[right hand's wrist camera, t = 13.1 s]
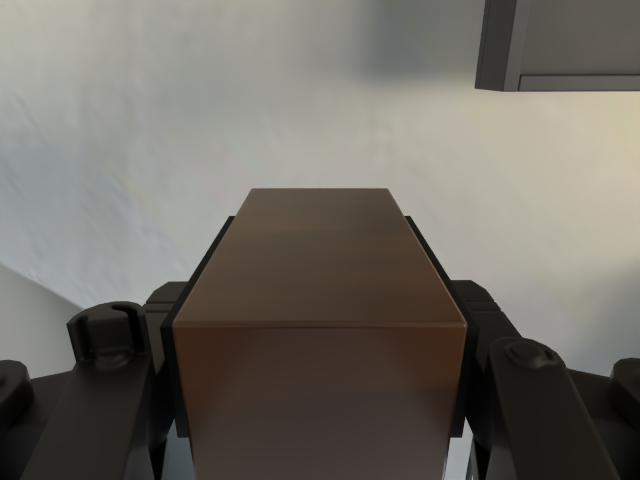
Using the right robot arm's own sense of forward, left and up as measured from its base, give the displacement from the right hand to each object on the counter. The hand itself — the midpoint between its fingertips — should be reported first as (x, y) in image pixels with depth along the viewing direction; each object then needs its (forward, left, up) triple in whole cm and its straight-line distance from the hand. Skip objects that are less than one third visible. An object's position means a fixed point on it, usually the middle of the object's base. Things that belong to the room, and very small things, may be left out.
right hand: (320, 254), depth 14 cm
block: (0, 0, 0) cm, 0 cm away
